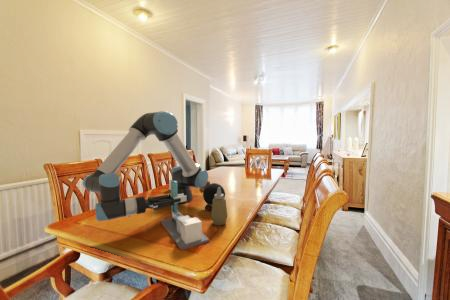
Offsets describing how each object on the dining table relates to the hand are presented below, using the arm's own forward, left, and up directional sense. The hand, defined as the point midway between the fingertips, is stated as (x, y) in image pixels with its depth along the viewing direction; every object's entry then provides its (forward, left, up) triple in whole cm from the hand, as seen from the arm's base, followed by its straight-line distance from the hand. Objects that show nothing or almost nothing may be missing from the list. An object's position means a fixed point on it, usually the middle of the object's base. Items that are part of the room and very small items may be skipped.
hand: (184, 197), depth 106 cm
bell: (-32, +50, -13) cm, 61 cm away
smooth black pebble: (0, +22, -12) cm, 25 cm away
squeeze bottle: (+16, +8, -12) cm, 22 cm away
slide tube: (+4, -7, -11) cm, 13 cm away
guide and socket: (+9, -9, -12) cm, 18 cm away
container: (-54, +36, -12) cm, 66 cm away
